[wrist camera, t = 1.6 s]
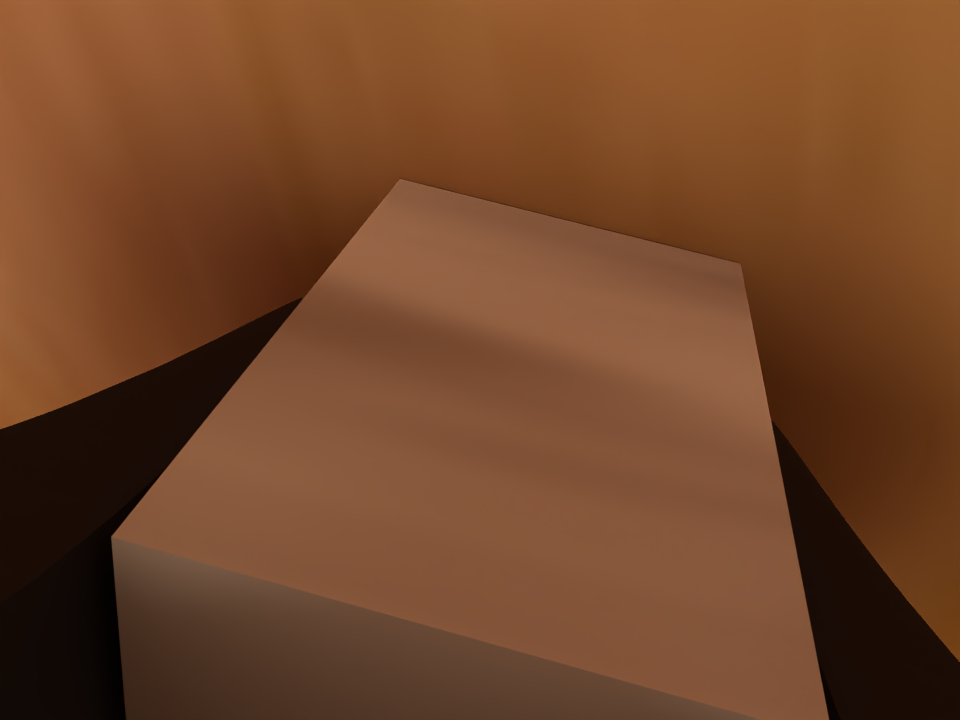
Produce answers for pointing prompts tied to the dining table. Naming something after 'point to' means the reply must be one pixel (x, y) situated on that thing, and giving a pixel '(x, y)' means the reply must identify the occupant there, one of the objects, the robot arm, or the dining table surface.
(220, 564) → the brown metal block
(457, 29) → the dining table surface
